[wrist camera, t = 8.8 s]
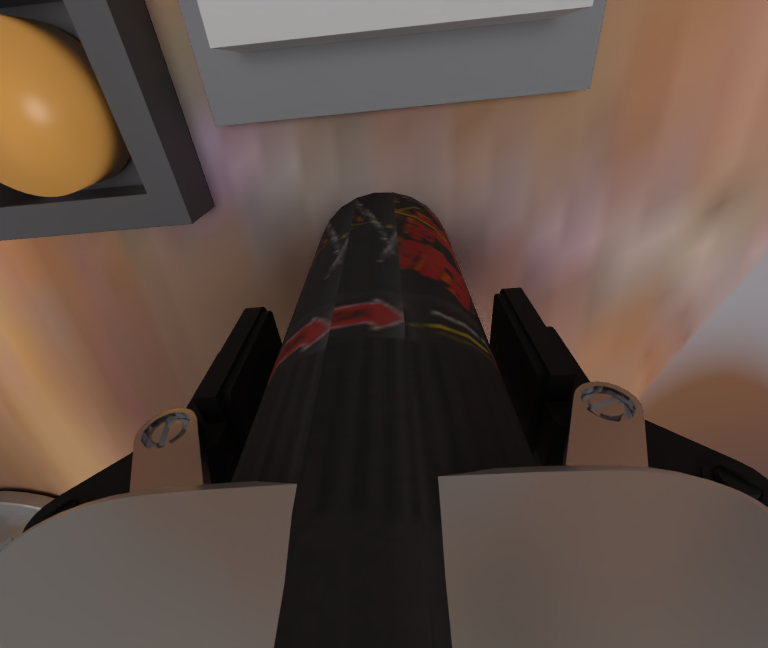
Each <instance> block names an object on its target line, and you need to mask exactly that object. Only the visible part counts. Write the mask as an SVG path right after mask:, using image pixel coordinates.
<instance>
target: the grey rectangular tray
mask: <svg viewBox="0 0 768 648" xmlns="http://www.w3.org/2000/svg"><path fill="white" fill-rule="evenodd" d="M606 1H607V0H178V3H179V6H180V9H181V13H182V16H183V19H184V23H185V26H186V29H187V33H188V36H189V39H190V42H191V46H192V49H193V52H194V56H195V59H196V62H197V66H198V69H199V72H200V75H201V79H202V82H203V85H204V89H205V92H206V95H207V98H208V102H209V105H210V108H211V112H212V115H213V118H214V122H215V125H216V126H226V125H236V124H246V123H256V122H266V121H276V120H286V119H296V118H306V117H316V116H326V115H336V114H346V113H356V112H366V111H376V110H386V109H396V108H406V107H416V106H426V105H436V104H446V103H456V102H466V101H476V100H486V99H496V98H506V97H516V96H526V95H536V94H546V93H556V92H566V91H576V90H586V89H590V85H591V80H592V74H593V69H594V64H595V59H596V54H597V48H598V43H599V38H600V33H601V27H602V22H603V17H604V12H605V7H606Z"/></svg>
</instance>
